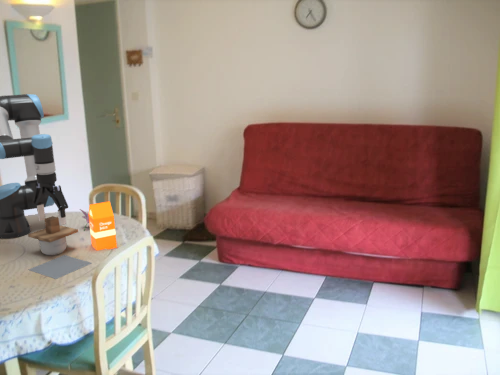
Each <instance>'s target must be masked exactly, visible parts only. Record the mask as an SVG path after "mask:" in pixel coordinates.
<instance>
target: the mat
mask: <svg viewBox="0 0 500 375" xmlns="http://www.w3.org/2000/svg"><path fill="white" fill-rule="evenodd" d="M92 264H93V262H90V261H87V260H83V259H81V258H80V259H79V258H76V257H73V256H69V255H67V254H63V255H61V256H59V257H55V258H54V259H50V260H48V261H46V262H43V263H41V264H38V265H36V266H33V267H31V268H29V269H27V271H31V272H34V273H37V274H40V275H43V276H45V277H48V278H51V279H54V280H57V279H60V278H62V277H64V276H66V275H69V274H71V273H73V272H75V271H78V270H80V269H83V268H85V267H87V266H89V265H92Z"/></svg>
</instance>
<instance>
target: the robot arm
mask: <svg viewBox="0 0 500 375" xmlns="http://www.w3.org/2000/svg"><path fill="white" fill-rule="evenodd" d="M44 116H45V115H44V109H43V106H42V102H41V100H40V98H39V96H38V95H37V94H33V93H32V94H30V93H25V94H11V95H7V94H6V95H0V160H6V159H13V158H14V159H15V158H23V159H24V164H25V171H26V178H25V180H24V185H21V184H20V183H19V182H10V183H5V184H2V185H0V239H5V240H7V239H15V238H19V237H24V236H26V235H28V234H30V232H31V231H32V228H31V225H30V223H29V221H28V219H27V217H26V216H25V211H27V210H34V209H35V210H36V211H37V218H38V221H39V222H41V221H43V220H44V219H45V218H46V214H45V208H47V207H51V206H52V207H53V206H54V205H56V207H57V209H58V210H57V215H58V216H57V217H58V218H59V225H60V226H65V225H66V224H67V221H66V216H67V214H66V209H68V208H69V205H68V202H67V201H66V198H65V195H64V193H63V191H62V186H61V185H60V184H59V185H56V182H57V180H58V179H57V173H56V163H55V157H54V149H53V141H52V136H51V135H50V134H46V133H43V134H41V133H40V127H39V126H40V124H41V123H42V119H44ZM9 121H14V124H15V126H17V127H18V129H19V134H20V138H14V137H13V134H12V129H11V126H10V123H9Z"/></svg>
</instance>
